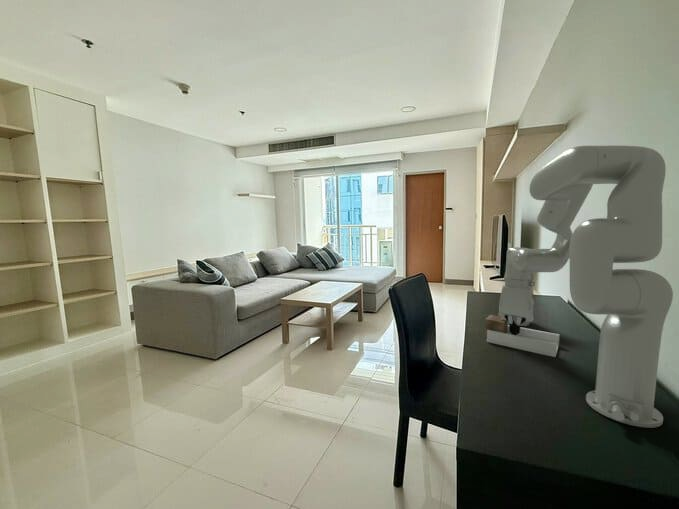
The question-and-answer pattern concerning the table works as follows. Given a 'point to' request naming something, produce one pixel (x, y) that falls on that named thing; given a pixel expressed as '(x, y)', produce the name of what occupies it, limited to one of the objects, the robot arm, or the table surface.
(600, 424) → the table surface
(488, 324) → the walnut block
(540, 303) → the table surface
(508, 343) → the chute
